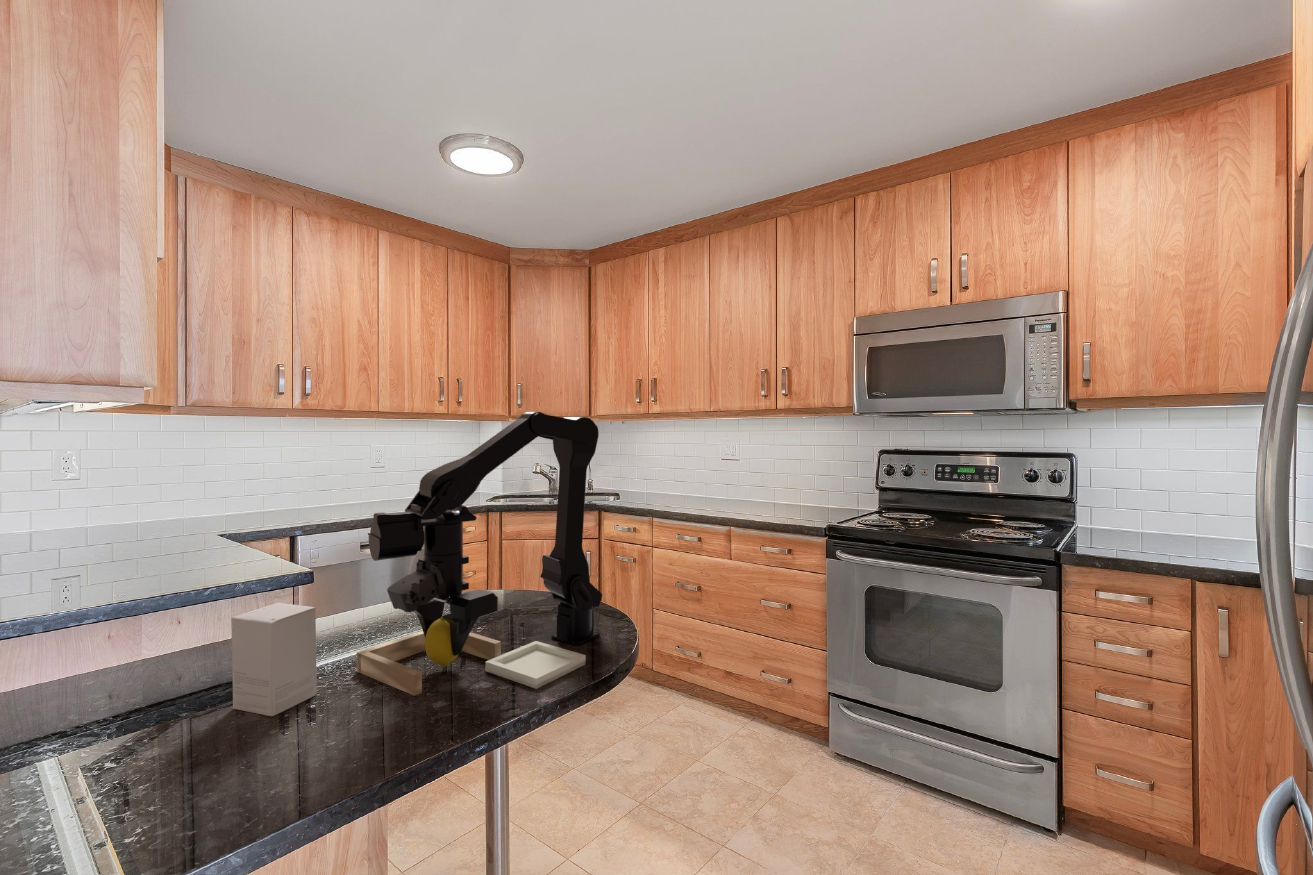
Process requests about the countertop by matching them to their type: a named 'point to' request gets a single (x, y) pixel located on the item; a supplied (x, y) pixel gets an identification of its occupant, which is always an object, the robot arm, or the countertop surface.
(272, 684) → the supplement box
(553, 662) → the dish
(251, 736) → the countertop surface
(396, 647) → the u-shaped wooden frame
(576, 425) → the robot arm
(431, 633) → the lemon
